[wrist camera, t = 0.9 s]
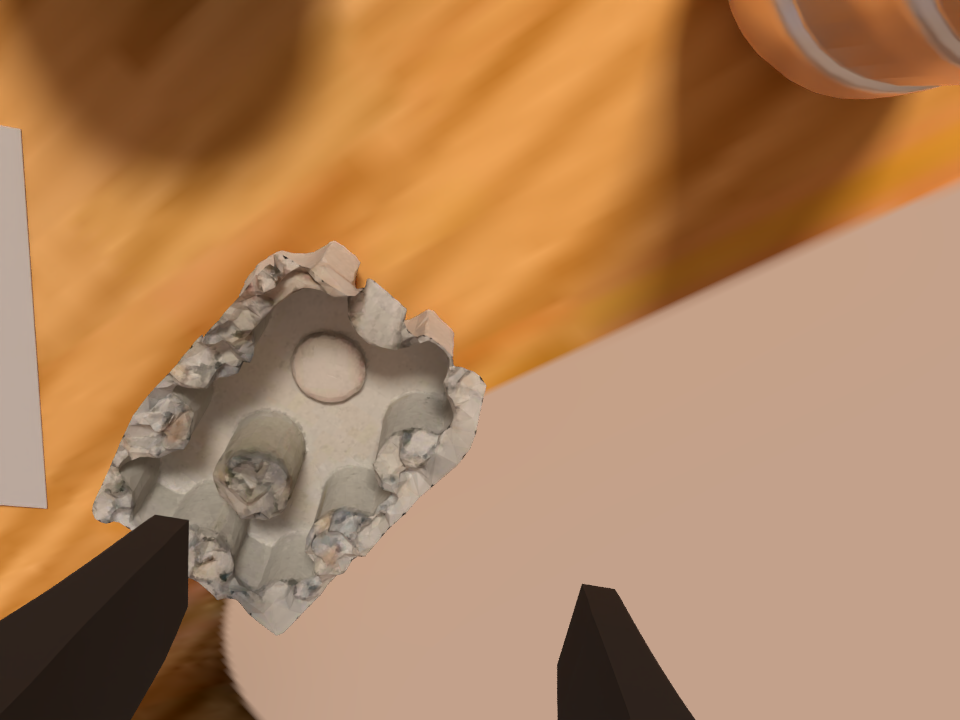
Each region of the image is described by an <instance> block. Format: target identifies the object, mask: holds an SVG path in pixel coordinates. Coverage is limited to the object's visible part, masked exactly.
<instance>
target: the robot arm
mask: <svg viewBox="0 0 960 720" xmlns="http://www.w3.org/2000/svg"><path fill="white" fill-rule="evenodd" d="M188 555H189V520H186V519H180V518H174V517H167V516H161V515H154V516H152V517H150V518H149V519H147V520H146V521H145V522H143V523H142V524H140V525H139V526H138V527H136V528H135V529H134V530H132V531H131V532H129V533H128V534H127V535H125V536H124V537H123V538H121V539H120V540H119V541H117V542H116V543H114V544H113V545H112V546H110V547H109V548H108V549H106V550H105V551H103V552H102V553H101V554H99V555H98V556H96V557H95V558H94V559H92V560H91V561H90V562H88V563H87V564H85V565H84V566H82V567H81V568H79V569H78V570H77V571H75V572H74V573H72V574H71V575H69V576H68V577H66V578H65V579H64V580H62V581H61V582H59V583H58V584H56V585H55V586H53V587H52V588H50V589H49V590H48V591H46V592H44V593H43V594H41V595H40V596H38V597H37V598H35V599H34V600H32V601H30V602H29V603H27V604H26V605H24V606H22V607H21V608H19V609H18V610H16V611H15V612H13V613H11V614H10V615H8V616H7V617H5V618H4V619H2V620H0V720H131V718H132V716H133V715H134V713H135V711H136V710H137V708H138V706H139V704H140V703H141V701H142V699H143V697H144V696H145V694H146V692H147V690H148V689H149V687H150V685H151V684H152V682H153V680H154V678H155V677H156V675H157V673H158V671H159V669H160V668H161V666H162V664H163V662H164V661H165V658H166V656H167V654H168V652H169V649H170V647H171V645H172V643H173V640H174V638H175V636H176V634H177V631H178V629H179V626H180V624H181V622H182V619H183V617H184V614H185V612H186V610H187V607H188ZM557 700H558V701H557V704H558V720H695V719H694V717H693V716H692V714H691V713H690V711H689V710H688V709H687V707H686V706H685V704H684V703H683V701H682V700H681V698H680V697H679V695H678V694H677V692H676V691H675V689H674V688H673V686H672V684H671V683H670V681H669V680H668V678H667V676H666V675H665V674H664V672H663V670H662V669H661V667H660V666H659V664H658V662H657V661H656V659H655V657H654V656H653V654H652V653H651V651H650V649H649V647H648V646H647V644H646V643H645V641H644V639H643V637H642V635H641V634H640V632H639V630H638V629H637V627H636V625H635V624H634V622H633V620H632V618H631V616H630V614H629V613H628V611H627V609H626V607H625V606H624V604H623V602H622V600H621V598H620V597H619V595H618V594H617V592H616V591H615V589H610V588H604V587H598V586H592V585H585V584H582V586H581V589H580V593H579V596H578V599H577V602H576V606H575V609H574V612H573V615H572V619H571V622H570V625H569V628H568V632H567V635H566V638H565V641H564V645H563V648H562V652H561V654H560V658H559V661H558V664H557Z"/></svg>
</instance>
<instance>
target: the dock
mask: <svg viewBox="0 0 960 720" xmlns="http://www.w3.org/2000/svg"><path fill="white" fill-rule="evenodd" d="M0 505H8V506H20V507H33V508H46V509H47V508H48V507H47V493H46V479H45V464H44V450H43V435H42V421H41V407H40V392H39V378H38V363H37V349H36V335H35V320H34V306H33V291H32V277H31V262H30V248H29V234H28V219H27V205H26V190H25V176H24V162H23V147H22V133H21V129H18V128H13V127H8V126H2V125H0Z"/></svg>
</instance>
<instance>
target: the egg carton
mask: <svg viewBox="0 0 960 720" xmlns="http://www.w3.org/2000/svg"><path fill="white" fill-rule="evenodd" d="M359 265H360V262H359V260H358V258H357V257H356V256H355V255H354V254H352V253H351V252H350V251H349V250H348V249H347V248H346V247H344V246H343V245H341V244H339V243H338V242H336V241H332V242H330V243H329V244H327V245H326V246H324V247H322V248H320V249H319V250H317V251H315V252H312V253H307V254H300V253H289V252H286V251H279V252H276V253H274V254H272V255H270V256H269V257H268V258H267V259H265V260H263V261H262V262H260V263H259V264H258V265H257V266H256V268H255V269H254V271H253V272H252V273H251V274H250V275H249V276H248V278H247V279H246V281H245V282H244V283H245V285H244V287H243V289H242V291H241V293H240V295H239V298H238V299H237V300H236V301H235V302H234V303H233V304H232V305H231V306H230V307H229V308H228V310H227V311H226V312H225V313H224V314H223V316H222V317H221V318H220V320H219V321H218V322H217V323H215V325H214V326H213V327H212V328H211V329H210V330H209V331H208V332H207V334H206V335H205V336H204V337H203V336H202V335H201V336H200V337H199V338H198V339H197V340H196V341H195V342H194V344H193V345H192V346H191V348H190V349H189V350H188V351H187V352H186V354H185V355H184V356H183V357H182V358H181V360H180V361H179V362H178V364H177V365H176V366H175V367H174V368H173V370H172V371H171V372H170V373H169V374H168V375H167V376H166V377H165V378H164V379H163V380H162V381H161V382H160V383H159V384H158V385H157V386H156V387H155V388H154V390H153V391H152V392H151V393H150V394H149V395H148V396H147V398H146V399H145V400H144V402H143V403H142V404H141V406H140V407H139V408H138V410H137V411H136V412H135V414H134V415H133V417H132V419H131V421H130V423H129V426H128V428H127V430H126V432H125V434H124V436H123V438H122V440H121V442H120V445H119V447H118V450H117V453H116V455H115V457H114V459H113V461H112V464H111V466H110V469H109V471H108V473H107V475H106V477H105V480H104V482H103V484H102V486H101V489H100V491H99V493H98V495H97V497H96V499H95V501H94V504H93V514H94V517H95V519H97V520H98V521H100V522H103V523H111V522H113V521H115V522H119V523H121V524H123V525H124V526H126V527H127V528H129V529H130V530H134V529H135V528H136V527H138V526H139V525H140V524H142V523H143V522H145V521H146V520H147V519H149V518H150V517H152V516H154V515H161V516H167V517H174V518H180V519H186V520H189V555H188V578H191V579H193V580H195V581H198V582H199V583H200V584H201V585H202V586H203V587H204V588H206V589H207V590H208V591H209V592H210V593H211V594H213V595H214V597H215V598H216V599H217V600H219V599H223V598H230V599H236V600H237V601H239V603H240V604H241V605H242V606H243V607H244V609H245V610H246V611H247V612H248V614H250V615H251V616H252V617H253V618H254V619H255V620H256V621H258V622H259V623H260V624H262V625H263V626H264V627H266V628H267V629H268V630H270V631H271V632H272V633H274V634H275V635H279V634H282V633H284V632H285V631H286V630H287V629H288V628H289V627H290V626H291V624H293V622H294V621H295V620H296V619H297V618H298V617H299V616H300V615H301V614H302V613H303V612H304V611H305V610H306V609H307V608H308V607H309V606H310V605H311V604H312V603H313V602H314V601H315V600H316V599H317V598H318V597H319V596H320V595H321V594H322V592H323V591H324V589H325V588H326V586H327V585H328V584H329V582H330V581H331V580H332V579H333V578H334V577H335V576H336V575H339V574H342V573H344V572H345V571H346V570H347V568H348V566H349V564H350V563H351V561H352V560H353V559H354V558H356V557H357V556H361V557H362V556H366V554H367V553H368V552H369V551H370V550H371V549H372V547H373V546H374V545H375V544H376V543H377V542H378V540H379V539H380V538H381V537H382V536H383V534H384V533H385V532H386V531H387V530H388V529H389V528H390V527H391V526H392V525H393V524H394V523H395V522H397V521H398V520H399V519H400V518H401V517H402V516H403V515H404V514H405V513H406V512H407V511H408V510H409V509H410V507H412V505H413V504H414V503H415V502H416V501H417V499H418V498H419V497H420V496H422V495H423V494H424V493H425V492H426V491H428V490H429V489H430V488H431V487H432V486H433V485H435V484H436V483H437V482H438V481H439V480H441V479H442V478H443V477H444V476H445V475H446V474H448V473H449V472H450V471H451V470H452V469H453V468H455V467H456V466H457V465H458V464H459V462H460V461H461V460H462V459H463V457H464V456H465V455H466V453H467V452H468V451H469V450H470V448H471V445H472V443H473V440H474V437H475V434H476V431H477V426H478V420H479V416H480V411H481V406H482V402H483V397H484V393H485V389H486V384H485V383H484V381H483V380H482V378H481V377H480V376H479V375H478V374H476V373H475V372H473V371H470V370H467V369H465V368H462V367H455V366H454V365H453V359H452V358H453V347H454V332H453V330H452V329H451V328H450V327H449V326H448V325H447V324H446V323H445V322H443V321H442V320H441V319H440V318H439V316H438V315H437V314H436V313H435V312H434V311H432V310H429V309H428V310H426V311H424V312H423V313H421V314H419V315H418V316H416V317H414V318H412V319H410V320H405V316H406V311H407V310H406V308H405V307H403V306H402V305H401V304H400V302H399V301H397V300H396V299H395V298H393V297H392V296H391V295H390V294H389V293H388V292H387V291H386V290H384V289H383V288H382V287H381V286H380V285H378V284H377V283H376V282H375V281H373V280H371V279H367V282H366V286H365V288H360V289H357V288H356V286H355V279H356V275H357V271H358V268H359Z"/></svg>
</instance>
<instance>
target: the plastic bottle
mask: <svg viewBox="0 0 960 720" xmlns="http://www.w3.org/2000/svg"><path fill="white" fill-rule="evenodd" d="M728 2H729V6H730V10H731V12H732V14H733V16H734V18H735V21H736V23H737V25H738V27H739V29H740V31H741V33H742V35H743V36H744V37H745V39H746V40H747V41H748V42H749V44H750V45H751V46H752V48H753V49H754V50H755V52H756V53H757V54H758V55H759V56H761V57H762V58H763V59H764V60H765V61H767V62H768V63H769V64H770V65H771V66H773V67H774V68H775V69H776V70H777V71H779V72H780V73H781V74H782V75H784V76H785V77H786V78H787V79H789V80H790V81H792V82H794V83H796V84H798V85H800V86H802V87H804V88H806V89H808V90H810V91H812V92H814V93H818V94H823V95H827V96H831V97H835V98H839V99H874V98H882V97H891V96H898V95H904V94H909V93H914V92H920V91H925V90H929V89H932V88H935V87H939V86H942V85H960V0H728Z"/></svg>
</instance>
